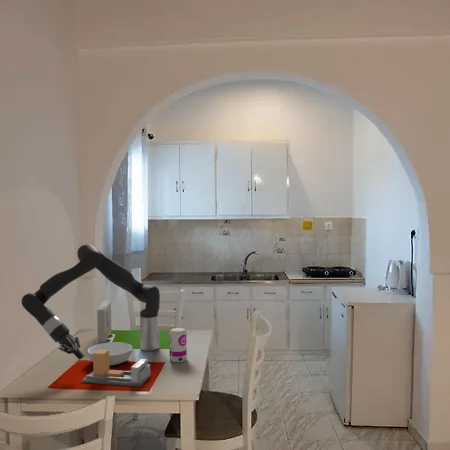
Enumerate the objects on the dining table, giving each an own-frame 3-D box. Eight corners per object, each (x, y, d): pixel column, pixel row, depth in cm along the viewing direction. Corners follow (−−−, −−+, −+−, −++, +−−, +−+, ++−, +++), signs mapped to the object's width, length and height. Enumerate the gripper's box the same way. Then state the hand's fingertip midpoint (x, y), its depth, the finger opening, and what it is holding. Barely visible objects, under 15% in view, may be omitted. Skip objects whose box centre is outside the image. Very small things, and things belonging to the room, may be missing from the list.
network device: (101, 333, 266) (100, 300, 265) (116, 333, 267) (115, 299, 266) (93, 346, 241) (92, 309, 240) (110, 346, 242) (109, 309, 241)
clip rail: (81, 382, 190) (81, 364, 190) (95, 372, 202) (95, 355, 202) (140, 386, 185) (139, 368, 185) (150, 375, 197) (150, 358, 197)
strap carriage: (93, 376, 193) (93, 353, 192) (99, 372, 198) (98, 349, 197) (119, 378, 190) (119, 354, 190) (124, 373, 195) (124, 351, 195)
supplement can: (190, 360, 218) (189, 329, 217) (177, 364, 211) (177, 332, 211) (179, 356, 223) (178, 326, 223) (166, 360, 217) (165, 329, 217)
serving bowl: (87, 372, 202) (86, 357, 202) (88, 357, 222) (88, 344, 222) (134, 367, 208) (133, 353, 208) (131, 354, 228) (131, 340, 228)
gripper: (59, 330, 205) (84, 358, 203) (41, 338, 192) (68, 368, 190) (69, 319, 204) (94, 347, 202) (52, 326, 191) (79, 356, 189)
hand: (82, 357), depth 196 cm, fingers closed
